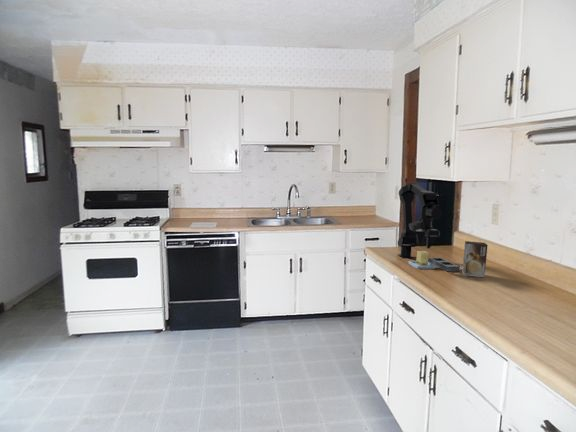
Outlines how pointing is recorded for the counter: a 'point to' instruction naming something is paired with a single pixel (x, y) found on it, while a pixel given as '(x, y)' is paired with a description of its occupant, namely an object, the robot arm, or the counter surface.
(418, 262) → the brushed brass block
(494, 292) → the counter surface
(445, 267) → the plate with rectangular hole
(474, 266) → the coffee box
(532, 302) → the counter surface
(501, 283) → the counter surface
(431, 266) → the tray
